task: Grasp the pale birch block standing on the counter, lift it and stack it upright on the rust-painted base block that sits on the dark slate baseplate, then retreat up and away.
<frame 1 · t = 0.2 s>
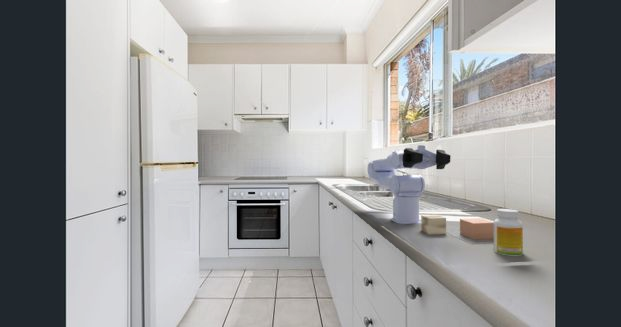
hand: (435, 158, 85), 21 cm above the countertop, tool horizontal, fingers open, 7 cm apart
supplement bottle: (507, 255, 69), on the countertop
base block: (477, 236, 83), point 1 cm above the countertop, touching baseplate
baseplate: (477, 238, 83), on the countertop
birch block: (433, 234, 88), on the countertop
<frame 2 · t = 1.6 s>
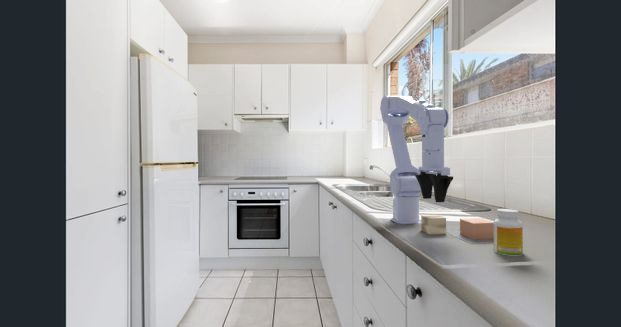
hand: (433, 200, 88), 9 cm above the countertop, tool pointing down, fingers open, 7 cm apart
nothing on the countertop moved.
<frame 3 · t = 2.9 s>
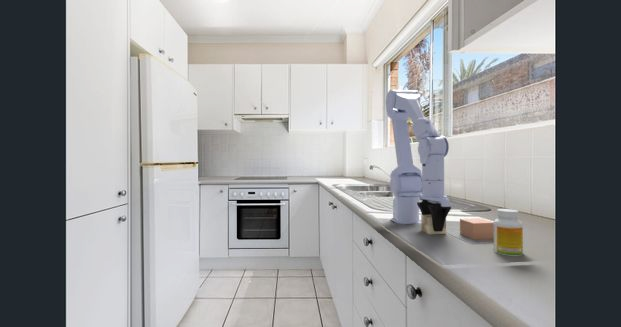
hand: (433, 229, 88), 1 cm above the countertop, tool pointing down, fingers closed on birch block, 5 cm apart
birch block: (433, 234, 88), on the countertop, touching gripper
everything else where it was.
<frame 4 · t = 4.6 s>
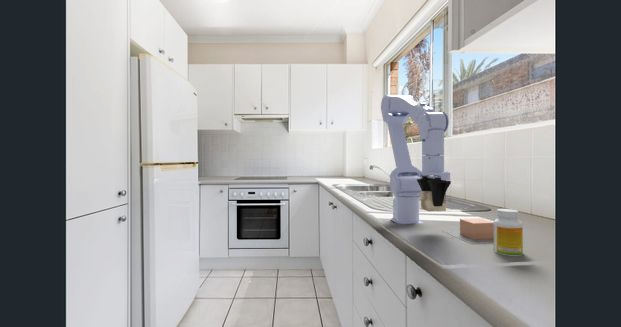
hand: (433, 204, 88), 8 cm above the countertop, tool pointing down, fingers closed on birch block, 5 cm apart
birch block: (433, 209, 88), point 7 cm above the countertop, touching gripper
everything else where it was.
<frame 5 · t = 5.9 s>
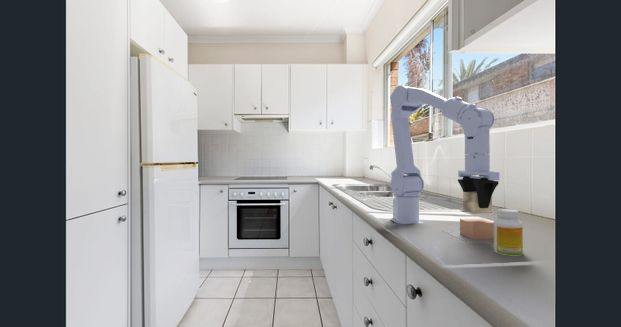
hand: (477, 206, 83), 8 cm above the countertop, tool pointing down, fingers closed on birch block, 5 cm apart
birch block: (477, 211, 83), point 7 cm above the countertop, touching gripper
everything else where it was.
when the fingers open (7 cm above the countertop, at t = 6.6 s): birch block stays where it is, resting on base block.
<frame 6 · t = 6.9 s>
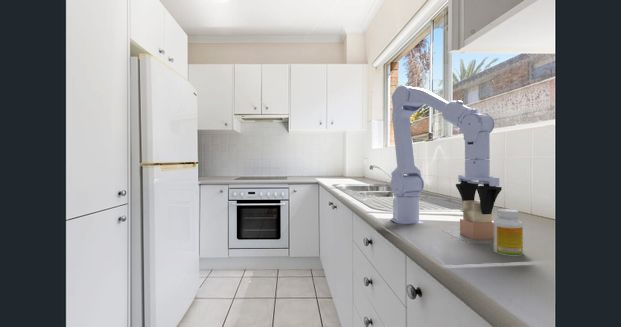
hand: (477, 211, 83), 7 cm above the countertop, tool pointing down, fingers open, 7 cm apart
base block: (477, 236, 83), point 1 cm above the countertop, touching baseplate, birch block
birch block: (477, 220, 83), point 5 cm above the countertop, touching base block
everything else where it was.
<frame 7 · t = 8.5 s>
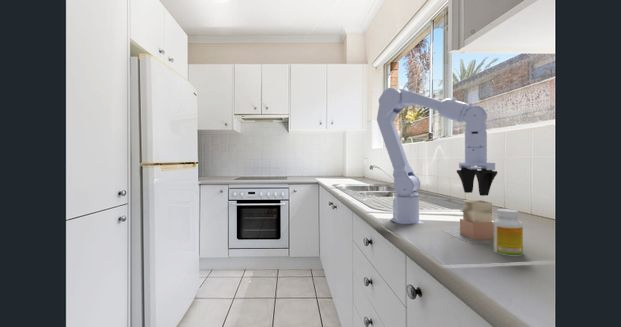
hand: (475, 194, 93), 10 cm above the countertop, tool pointing down, fingers open, 7 cm apart
nothing on the countertop moved.
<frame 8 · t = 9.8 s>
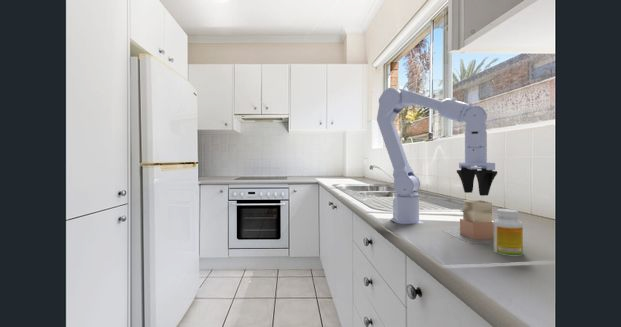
hand: (475, 193, 93), 10 cm above the countertop, tool pointing down, fingers open, 7 cm apart
nothing on the countertop moved.
at the end: birch block 0.0 cm off-centre on the base block, point 4.0 cm above the base block's base; birch block tilted 0°; the gripper is holding nothing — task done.
